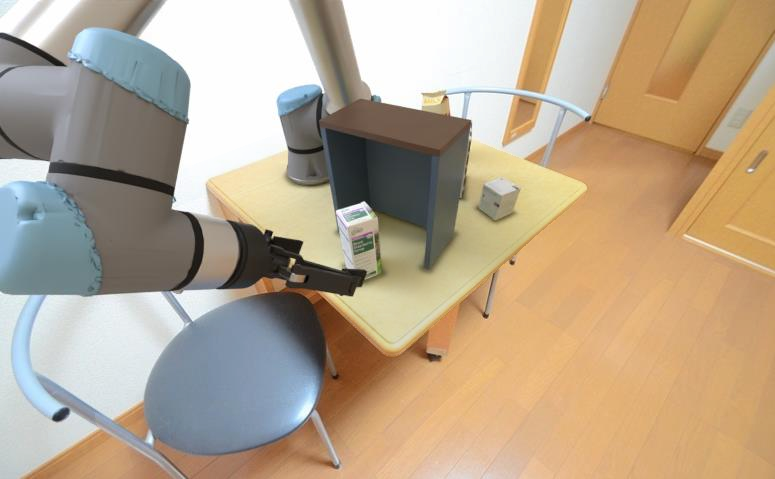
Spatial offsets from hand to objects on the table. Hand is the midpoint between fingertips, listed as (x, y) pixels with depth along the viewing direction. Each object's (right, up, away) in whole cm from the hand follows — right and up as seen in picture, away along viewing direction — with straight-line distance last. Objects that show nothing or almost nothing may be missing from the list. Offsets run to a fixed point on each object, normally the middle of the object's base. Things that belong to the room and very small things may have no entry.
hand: (329, 262), depth 53 cm
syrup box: (+5, -2, +12) cm, 13 cm away
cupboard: (+11, +5, +19) cm, 23 cm away
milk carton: (+24, +30, +47) cm, 60 cm away
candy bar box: (+28, +18, +33) cm, 47 cm away
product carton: (+36, +11, +25) cm, 45 cm away
